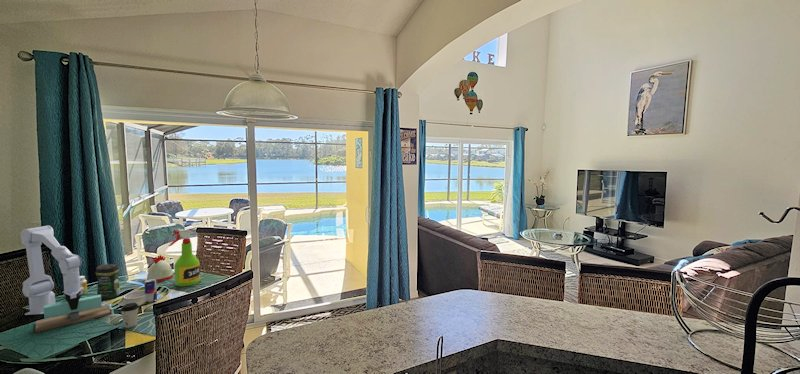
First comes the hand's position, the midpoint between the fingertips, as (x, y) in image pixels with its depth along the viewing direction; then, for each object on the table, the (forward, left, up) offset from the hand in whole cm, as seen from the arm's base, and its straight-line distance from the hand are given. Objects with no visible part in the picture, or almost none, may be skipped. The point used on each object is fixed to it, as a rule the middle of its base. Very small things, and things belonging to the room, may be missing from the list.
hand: (73, 307), depth 165 cm
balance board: (0, 0, -5) cm, 5 cm away
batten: (0, 0, -2) cm, 2 cm away
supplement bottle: (-33, -18, -6) cm, 38 cm away
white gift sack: (-53, +14, -6) cm, 55 cm away
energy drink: (-16, +26, -6) cm, 31 cm away
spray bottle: (-41, +33, -6) cm, 53 cm away
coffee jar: (-26, 0, -6) cm, 27 cm away
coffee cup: (+11, +30, -6) cm, 32 cm away
